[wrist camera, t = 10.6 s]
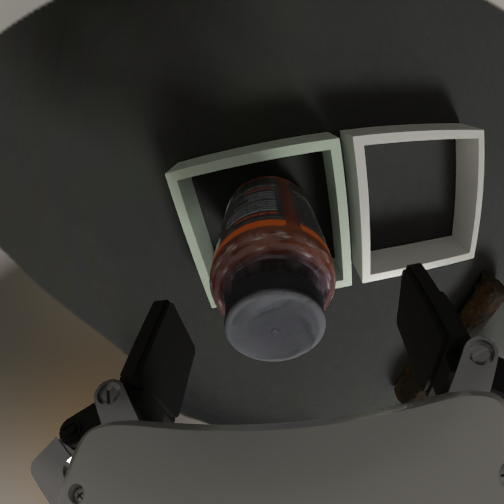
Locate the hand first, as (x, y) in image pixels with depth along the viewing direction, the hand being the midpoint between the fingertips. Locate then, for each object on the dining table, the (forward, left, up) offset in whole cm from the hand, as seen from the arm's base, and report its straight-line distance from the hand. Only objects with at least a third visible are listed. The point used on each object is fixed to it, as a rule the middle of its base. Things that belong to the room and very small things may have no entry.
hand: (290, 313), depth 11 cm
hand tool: (-17, +18, -11) cm, 27 cm away
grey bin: (-10, 0, -11) cm, 15 cm away
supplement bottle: (+1, 0, -11) cm, 11 cm away
